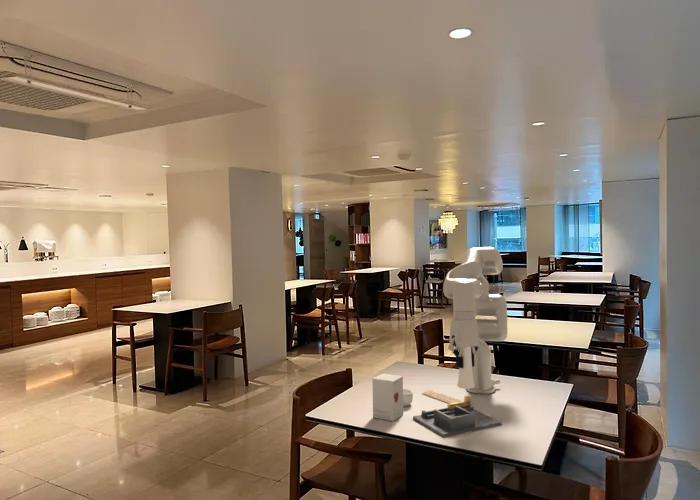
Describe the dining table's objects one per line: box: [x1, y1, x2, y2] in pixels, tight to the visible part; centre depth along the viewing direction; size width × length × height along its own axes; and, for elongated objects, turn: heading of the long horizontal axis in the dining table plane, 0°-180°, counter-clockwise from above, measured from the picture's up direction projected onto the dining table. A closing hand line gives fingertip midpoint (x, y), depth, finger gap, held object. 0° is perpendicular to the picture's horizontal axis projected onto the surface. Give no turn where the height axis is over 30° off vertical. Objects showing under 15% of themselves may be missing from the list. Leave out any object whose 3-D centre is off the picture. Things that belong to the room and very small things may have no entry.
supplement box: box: [371, 373, 404, 422], centre depth 186 cm, size 9×9×15 cm
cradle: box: [412, 405, 503, 438], centre depth 179 cm, size 25×20×5 cm
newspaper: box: [421, 390, 473, 406], centre depth 205 cm, size 24×7×2 cm, turn 33°
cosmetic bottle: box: [456, 347, 475, 390], centre depth 175 cm, size 6×6×22 cm
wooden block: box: [446, 394, 472, 411], centre depth 188 cm, size 10×2×5 cm, turn 114°
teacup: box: [403, 388, 414, 407], centre depth 200 cm, size 10×8×5 cm
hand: (465, 365), depth 175 cm, fingers closed on cosmetic bottle, 4 cm apart
